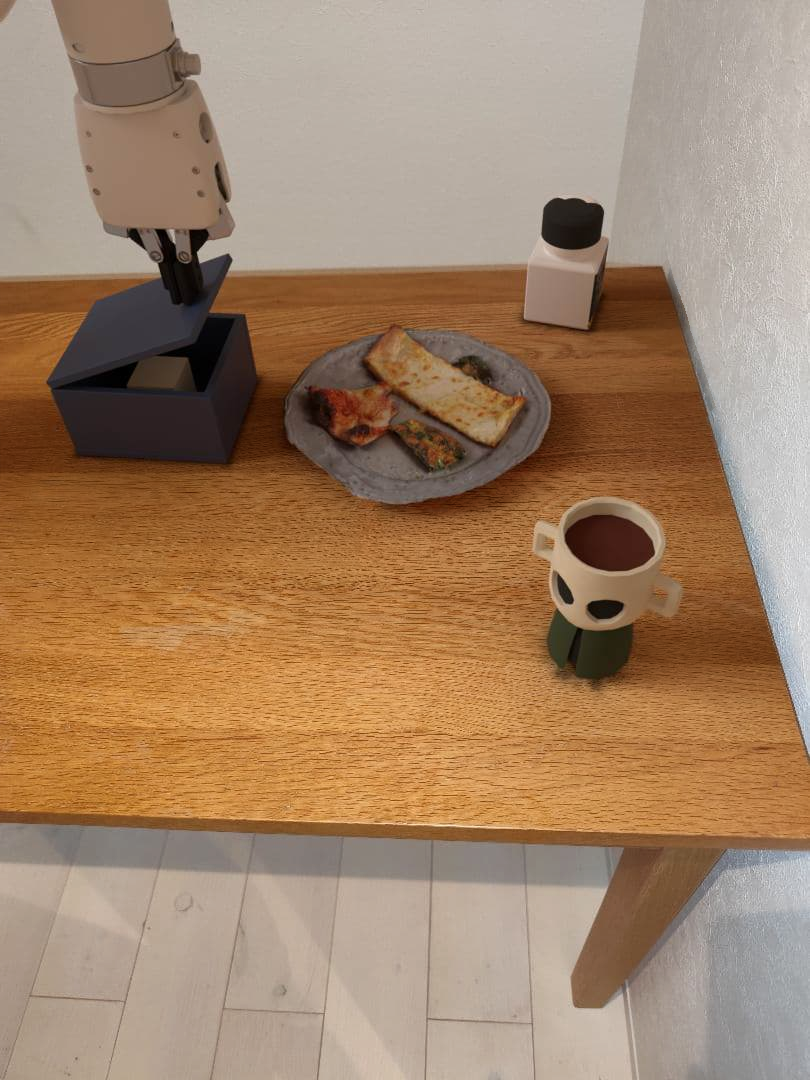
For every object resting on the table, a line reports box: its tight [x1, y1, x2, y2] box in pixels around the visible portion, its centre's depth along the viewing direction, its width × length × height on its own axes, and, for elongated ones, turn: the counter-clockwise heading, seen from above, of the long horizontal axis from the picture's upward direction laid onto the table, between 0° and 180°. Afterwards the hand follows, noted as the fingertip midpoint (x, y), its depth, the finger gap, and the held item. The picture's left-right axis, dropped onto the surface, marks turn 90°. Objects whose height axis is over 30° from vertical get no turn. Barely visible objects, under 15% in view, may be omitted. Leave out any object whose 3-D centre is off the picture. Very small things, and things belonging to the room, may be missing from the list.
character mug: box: [531, 496, 684, 681], centre depth 63 cm, size 11×7×13 cm, turn 55°
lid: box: [45, 253, 234, 390], centre depth 79 cm, size 15×13×1 cm
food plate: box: [282, 322, 552, 505], centre depth 84 cm, size 25×23×4 cm
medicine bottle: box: [523, 194, 610, 331], centre depth 93 cm, size 7×7×12 cm
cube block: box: [127, 356, 197, 392], centre depth 85 cm, size 5×5×5 cm
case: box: [50, 312, 259, 464], centre depth 85 cm, size 15×13×8 cm
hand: (187, 295), depth 77 cm, fingers closed
